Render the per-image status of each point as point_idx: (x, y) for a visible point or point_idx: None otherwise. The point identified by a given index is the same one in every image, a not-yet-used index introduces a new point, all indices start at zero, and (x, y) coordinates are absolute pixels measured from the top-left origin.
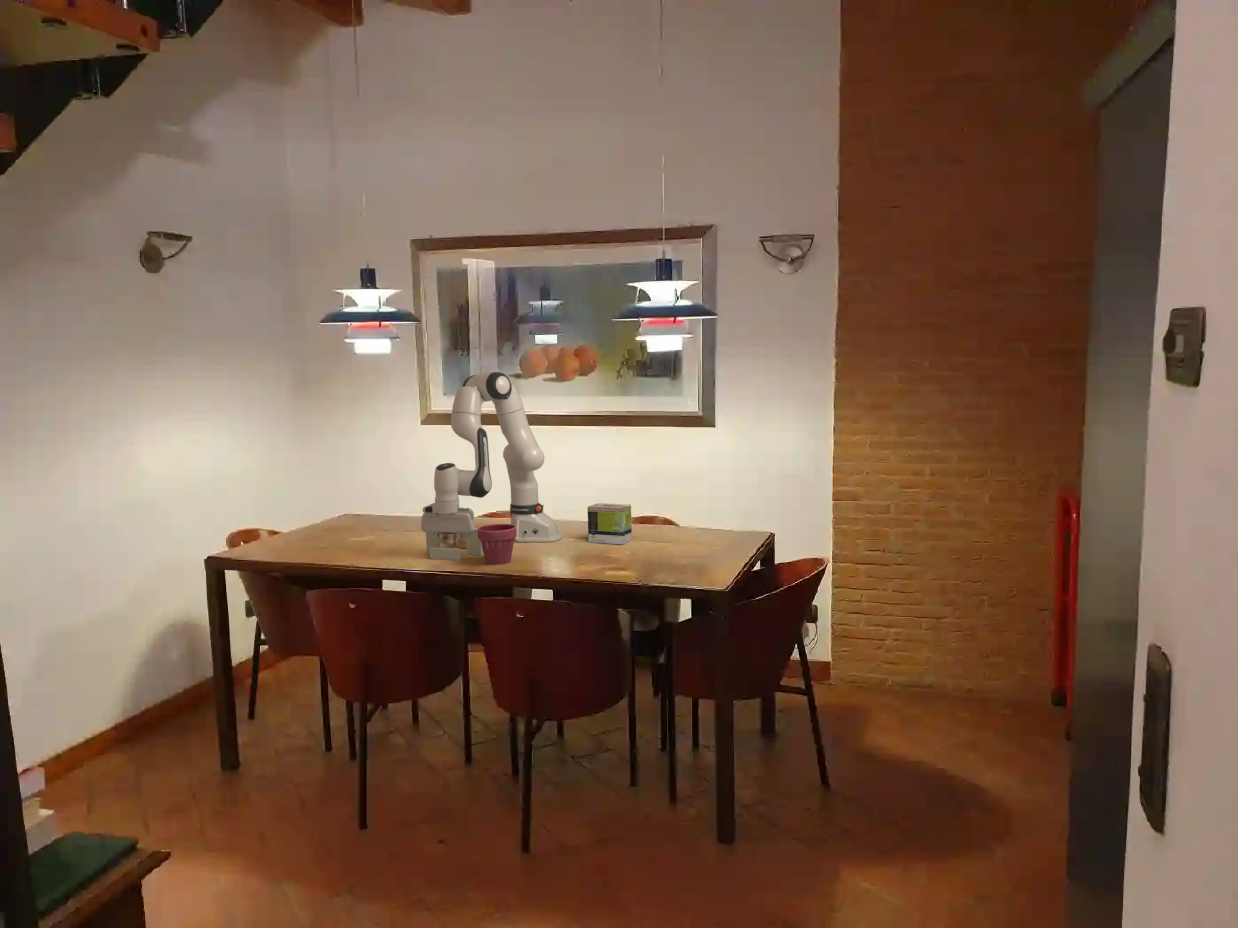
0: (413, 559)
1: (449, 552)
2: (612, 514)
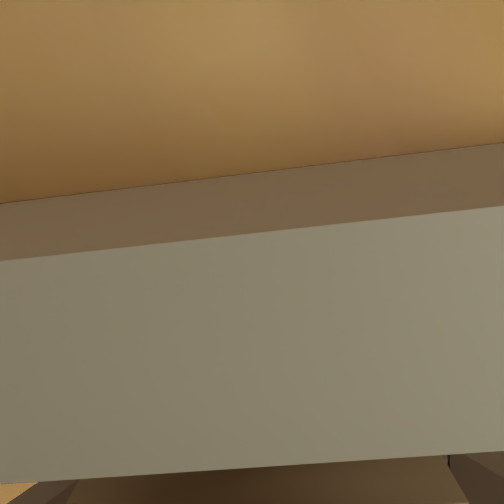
0: (10, 493)
1: None
2: None
